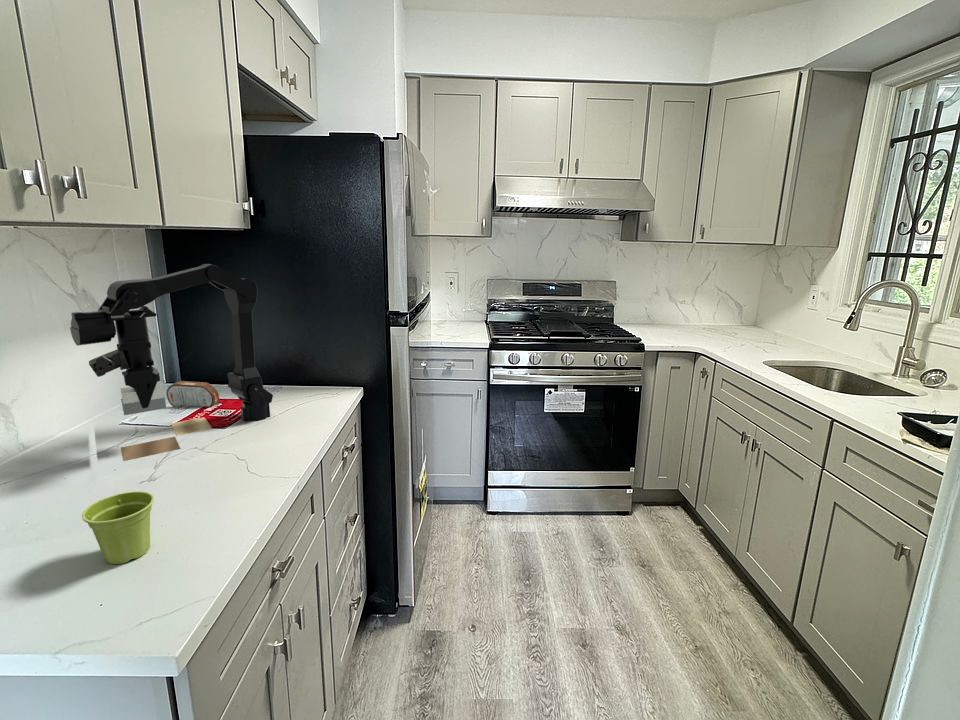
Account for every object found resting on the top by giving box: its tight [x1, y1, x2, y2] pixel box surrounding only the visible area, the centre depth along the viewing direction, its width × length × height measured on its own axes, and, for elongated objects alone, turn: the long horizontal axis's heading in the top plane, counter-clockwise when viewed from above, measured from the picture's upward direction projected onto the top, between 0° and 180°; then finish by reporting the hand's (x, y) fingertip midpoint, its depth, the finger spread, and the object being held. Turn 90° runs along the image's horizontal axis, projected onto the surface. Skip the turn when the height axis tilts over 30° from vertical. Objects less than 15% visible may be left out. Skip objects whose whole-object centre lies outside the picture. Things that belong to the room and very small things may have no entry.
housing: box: [119, 382, 167, 416], centre depth 114 cm, size 5×8×5 cm, turn 128°
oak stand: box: [170, 416, 213, 436], centre depth 130 cm, size 8×10×2 cm
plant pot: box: [81, 490, 155, 565], centre depth 80 cm, size 9×9×9 cm
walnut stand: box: [120, 436, 182, 462], centre depth 117 cm, size 11×9×2 cm
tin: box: [166, 380, 220, 408], centre depth 146 cm, size 15×3×8 cm, turn 84°
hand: (144, 404), depth 114 cm, fingers closed on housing, 5 cm apart
